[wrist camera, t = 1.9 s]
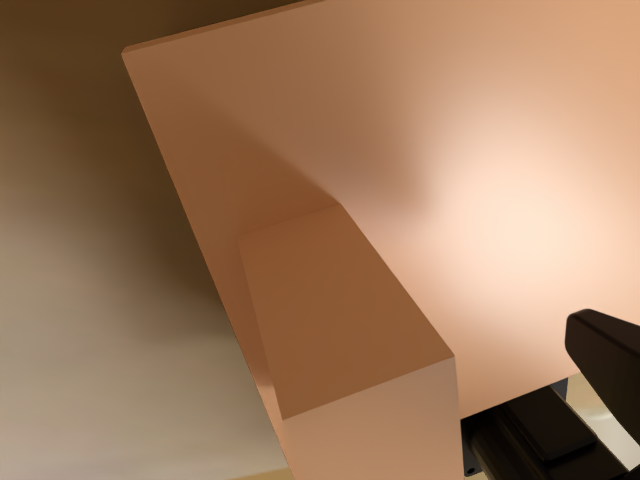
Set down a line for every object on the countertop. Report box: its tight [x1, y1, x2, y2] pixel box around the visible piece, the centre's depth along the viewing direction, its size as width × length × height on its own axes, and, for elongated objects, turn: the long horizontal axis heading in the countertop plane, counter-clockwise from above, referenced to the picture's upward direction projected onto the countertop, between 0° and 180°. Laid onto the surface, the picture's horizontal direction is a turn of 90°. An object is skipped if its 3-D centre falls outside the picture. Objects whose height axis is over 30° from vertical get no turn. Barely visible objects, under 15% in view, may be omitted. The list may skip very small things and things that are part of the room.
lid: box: [121, 0, 640, 480], centre depth 11 cm, size 13×13×8 cm
